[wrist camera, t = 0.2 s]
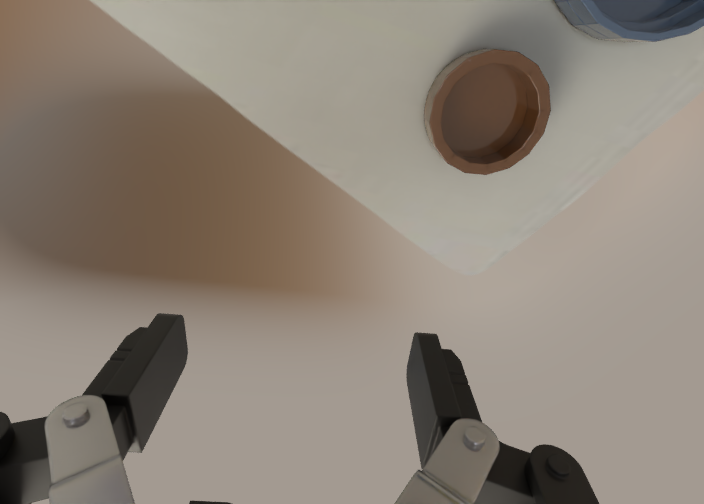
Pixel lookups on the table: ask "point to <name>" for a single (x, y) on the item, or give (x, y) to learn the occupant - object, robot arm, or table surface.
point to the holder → (487, 110)
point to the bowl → (634, 18)
